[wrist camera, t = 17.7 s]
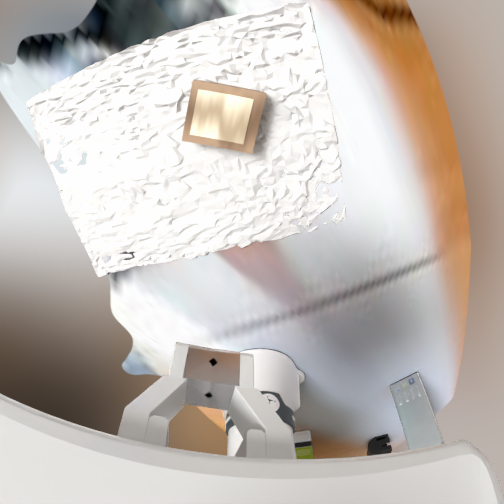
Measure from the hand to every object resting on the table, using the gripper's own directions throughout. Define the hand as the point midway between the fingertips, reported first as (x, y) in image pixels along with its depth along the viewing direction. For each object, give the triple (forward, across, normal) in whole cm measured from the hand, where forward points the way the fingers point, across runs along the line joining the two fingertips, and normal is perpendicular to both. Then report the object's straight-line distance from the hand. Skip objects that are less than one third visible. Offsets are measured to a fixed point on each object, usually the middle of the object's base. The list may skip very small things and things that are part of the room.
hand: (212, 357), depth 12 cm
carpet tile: (+32, -7, -1) cm, 33 cm away
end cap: (+31, +59, -75) cm, 100 cm away
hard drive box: (+31, +52, -45) cm, 76 cm away
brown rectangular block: (+29, +2, +5) cm, 29 cm away
